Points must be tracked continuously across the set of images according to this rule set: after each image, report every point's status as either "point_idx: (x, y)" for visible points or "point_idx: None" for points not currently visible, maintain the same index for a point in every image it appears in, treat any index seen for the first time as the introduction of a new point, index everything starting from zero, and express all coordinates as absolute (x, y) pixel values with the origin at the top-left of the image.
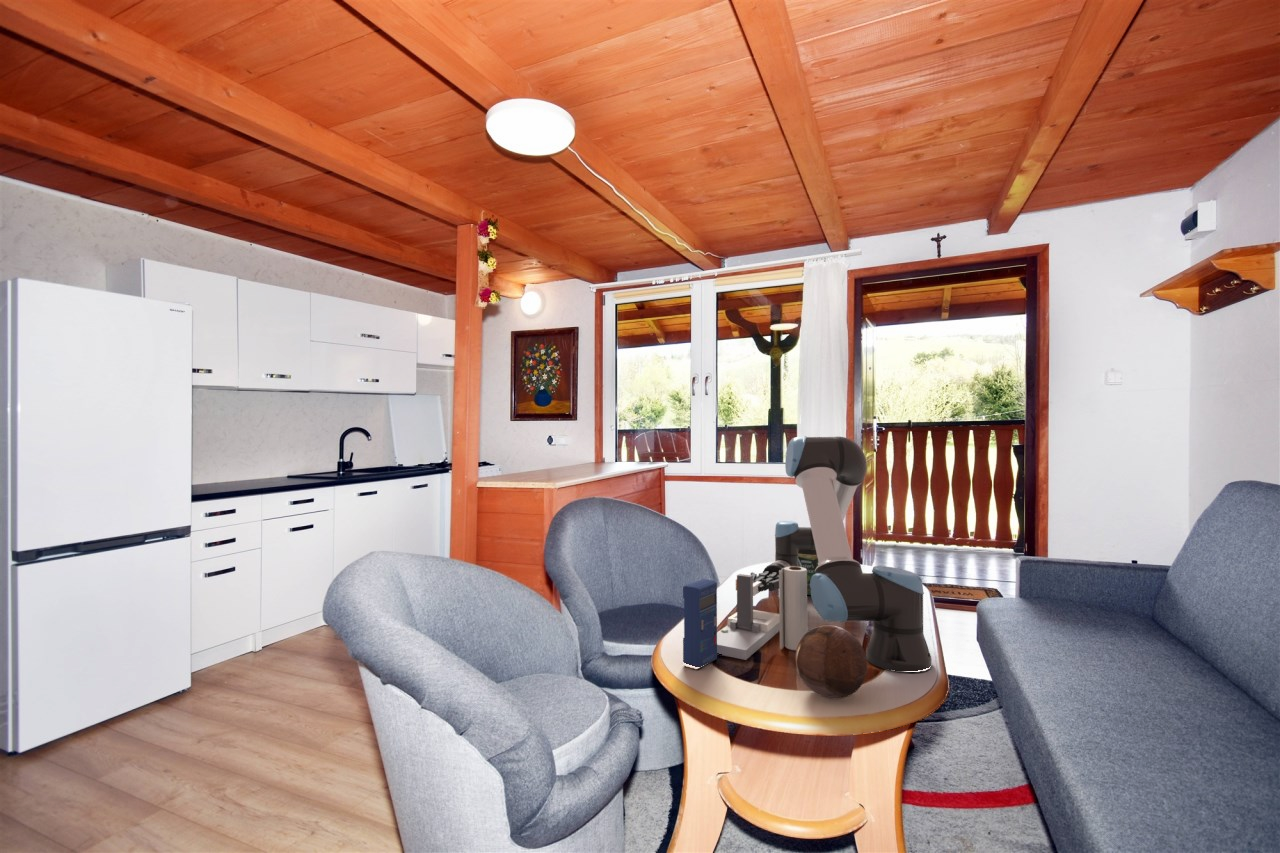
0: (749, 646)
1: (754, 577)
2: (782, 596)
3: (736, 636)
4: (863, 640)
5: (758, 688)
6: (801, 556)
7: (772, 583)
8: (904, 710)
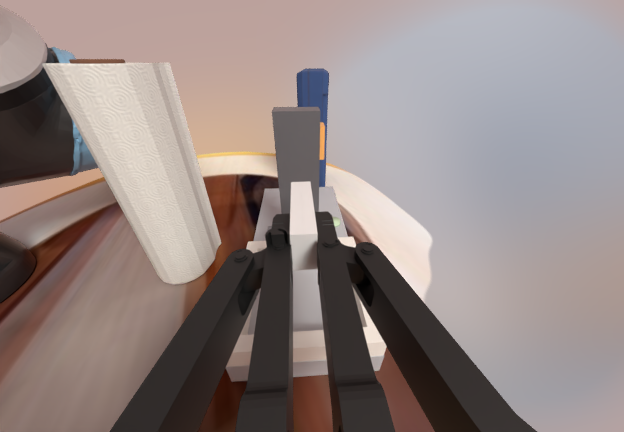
0: (264, 197)
1: (401, 322)
2: (183, 151)
3: None
4: None
5: (235, 170)
6: None
7: (230, 259)
8: (85, 184)
